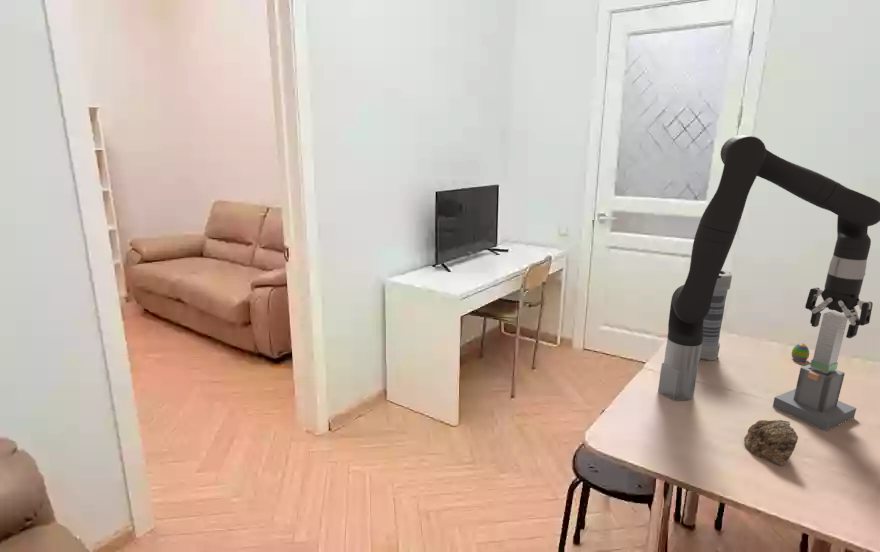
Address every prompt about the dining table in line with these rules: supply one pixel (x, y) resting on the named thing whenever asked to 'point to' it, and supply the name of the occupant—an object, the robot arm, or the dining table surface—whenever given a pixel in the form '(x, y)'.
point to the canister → (715, 318)
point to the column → (829, 343)
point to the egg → (800, 352)
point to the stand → (816, 399)
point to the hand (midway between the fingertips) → (831, 331)
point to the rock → (771, 440)
